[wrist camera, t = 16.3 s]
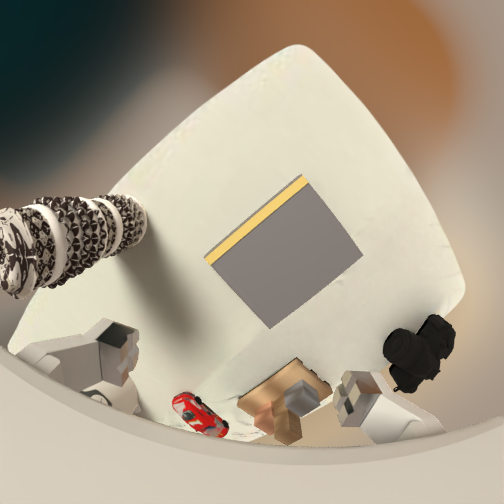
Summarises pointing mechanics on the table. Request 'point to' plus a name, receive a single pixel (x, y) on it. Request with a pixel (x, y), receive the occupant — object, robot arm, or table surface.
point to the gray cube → (301, 398)
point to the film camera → (418, 352)
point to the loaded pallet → (282, 386)
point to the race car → (199, 415)
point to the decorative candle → (64, 238)
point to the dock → (284, 252)
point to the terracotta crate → (265, 418)
